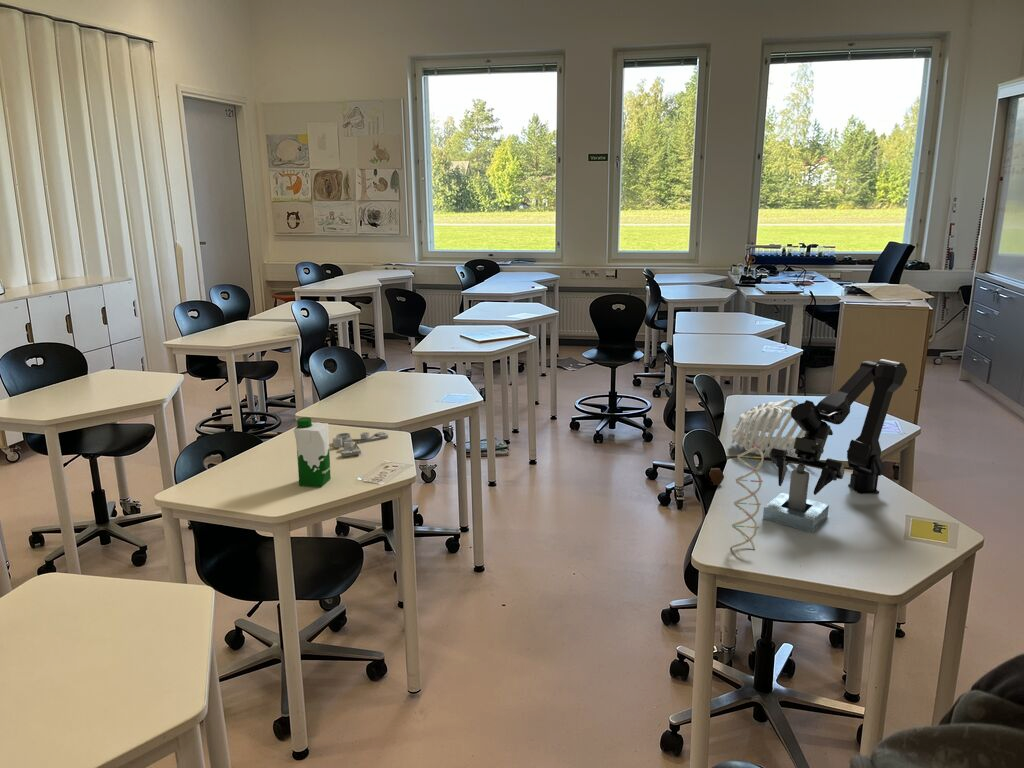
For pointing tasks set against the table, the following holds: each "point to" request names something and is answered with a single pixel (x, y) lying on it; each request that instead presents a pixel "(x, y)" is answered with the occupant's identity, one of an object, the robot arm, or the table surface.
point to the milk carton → (312, 453)
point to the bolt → (716, 476)
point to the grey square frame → (796, 513)
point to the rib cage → (766, 427)
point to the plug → (798, 489)
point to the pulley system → (347, 443)
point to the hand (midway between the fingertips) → (796, 489)
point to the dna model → (749, 491)
